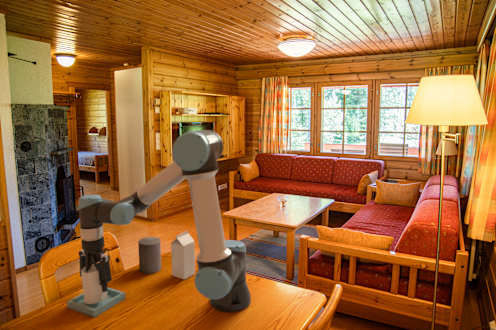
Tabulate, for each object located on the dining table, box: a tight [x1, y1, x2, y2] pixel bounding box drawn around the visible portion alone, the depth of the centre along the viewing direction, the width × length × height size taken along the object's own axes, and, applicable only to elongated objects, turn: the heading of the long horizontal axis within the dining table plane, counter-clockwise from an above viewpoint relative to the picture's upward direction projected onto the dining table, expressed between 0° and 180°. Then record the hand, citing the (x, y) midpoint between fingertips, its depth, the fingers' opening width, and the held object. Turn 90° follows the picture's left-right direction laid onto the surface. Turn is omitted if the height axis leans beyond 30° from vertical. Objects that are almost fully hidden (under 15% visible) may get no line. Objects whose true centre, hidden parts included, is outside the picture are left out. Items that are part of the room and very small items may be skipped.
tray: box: [66, 287, 126, 318], centre depth 129 cm, size 14×14×2 cm
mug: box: [80, 264, 100, 304], centre depth 129 cm, size 10×7×12 cm, turn 170°
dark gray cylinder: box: [137, 236, 162, 275], centre depth 157 cm, size 10×10×15 cm
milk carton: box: [170, 230, 196, 280], centre depth 151 cm, size 7×7×19 cm
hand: (96, 296), depth 129 cm, fingers closed on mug, 6 cm apart
